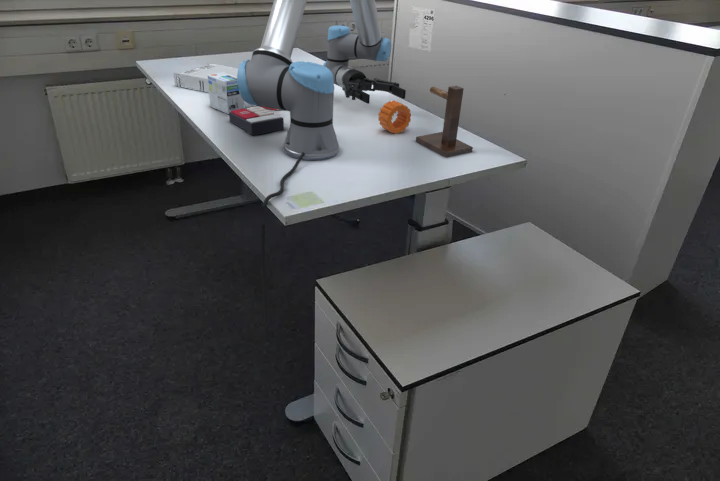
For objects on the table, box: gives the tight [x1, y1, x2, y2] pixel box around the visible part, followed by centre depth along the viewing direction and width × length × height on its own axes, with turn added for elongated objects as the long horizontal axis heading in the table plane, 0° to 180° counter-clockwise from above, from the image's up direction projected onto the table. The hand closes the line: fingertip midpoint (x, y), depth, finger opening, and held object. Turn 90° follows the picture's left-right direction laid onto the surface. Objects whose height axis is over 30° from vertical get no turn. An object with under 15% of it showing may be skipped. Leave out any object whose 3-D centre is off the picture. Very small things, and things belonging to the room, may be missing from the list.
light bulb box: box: [207, 72, 245, 115], centre depth 183 cm, size 11×7×11 cm, turn 47°
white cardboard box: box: [173, 62, 239, 94], centre depth 206 cm, size 19×33×5 cm, turn 64°
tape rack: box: [415, 85, 474, 158], centre depth 161 cm, size 16×10×18 cm, turn 32°
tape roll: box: [378, 100, 412, 135], centre depth 173 cm, size 9×5×9 cm, turn 122°
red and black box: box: [228, 106, 285, 136], centre depth 172 cm, size 11×4×15 cm
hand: (386, 96), depth 175 cm, fingers open, 13 cm apart
